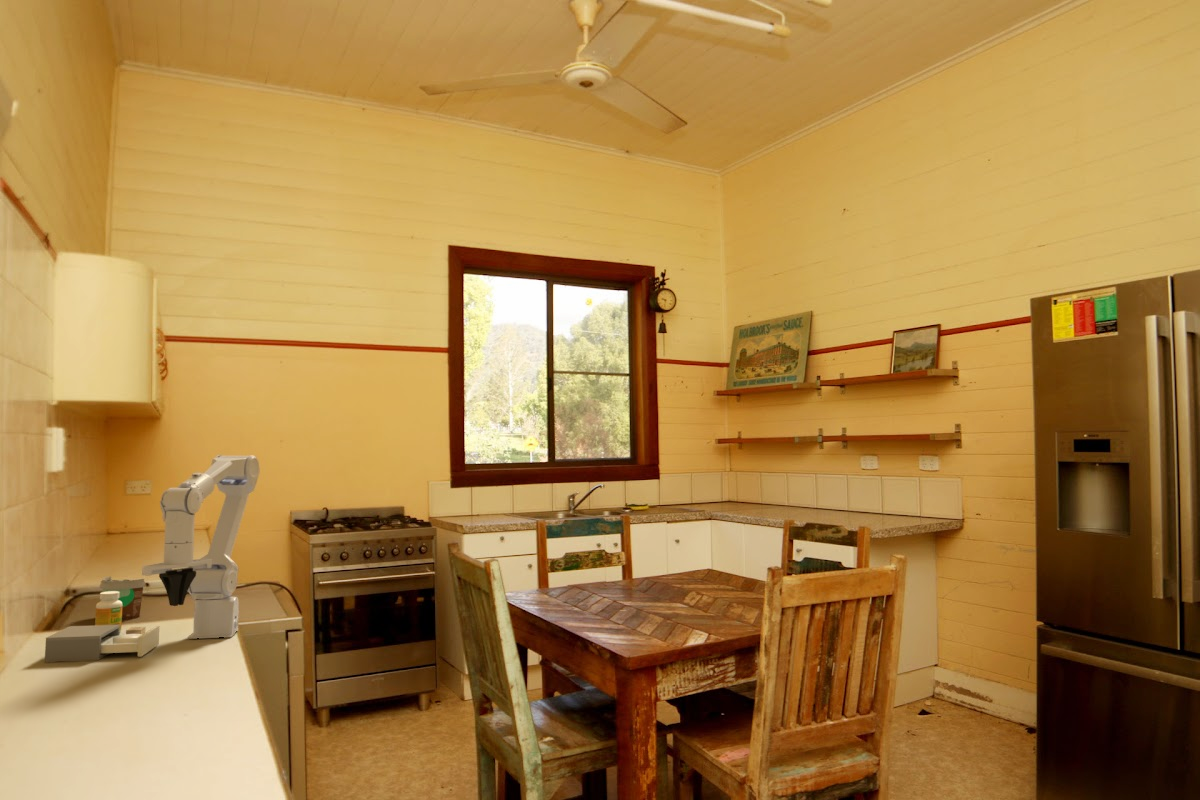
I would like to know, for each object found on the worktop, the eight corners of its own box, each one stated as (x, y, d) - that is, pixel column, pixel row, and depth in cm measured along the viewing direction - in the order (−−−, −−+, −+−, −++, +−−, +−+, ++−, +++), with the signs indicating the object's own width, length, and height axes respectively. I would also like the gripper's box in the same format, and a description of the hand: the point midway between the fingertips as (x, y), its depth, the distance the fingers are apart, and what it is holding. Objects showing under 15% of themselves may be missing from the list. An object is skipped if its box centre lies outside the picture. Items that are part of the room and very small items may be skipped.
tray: (158, 644, 177) (159, 626, 177) (141, 656, 167) (142, 637, 167) (109, 646, 175) (110, 627, 175) (88, 658, 164) (89, 639, 165)
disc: (119, 641, 173) (119, 634, 173) (146, 640, 174) (147, 633, 174) (107, 647, 168) (108, 640, 168) (136, 646, 169) (136, 639, 169)
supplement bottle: (111, 636, 186) (113, 594, 186) (89, 636, 186) (91, 594, 186) (126, 631, 191) (127, 590, 192) (104, 631, 191) (106, 590, 192)
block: (144, 642, 180) (145, 626, 180) (140, 645, 177) (140, 629, 177) (130, 643, 180) (131, 627, 180) (125, 646, 177) (126, 630, 177)
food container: (86, 618, 205) (88, 579, 205) (107, 614, 211) (109, 576, 211) (123, 622, 201) (125, 582, 202) (143, 617, 207) (145, 578, 208)
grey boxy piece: (118, 647, 175) (119, 624, 176) (98, 660, 165) (99, 635, 165) (68, 649, 173) (69, 626, 174) (44, 662, 163) (45, 637, 163)
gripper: (199, 538, 183) (197, 598, 182) (135, 544, 170) (132, 608, 169) (218, 540, 179) (215, 601, 178) (153, 546, 167) (150, 611, 166)
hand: (176, 604), depth 173 cm, fingers closed
